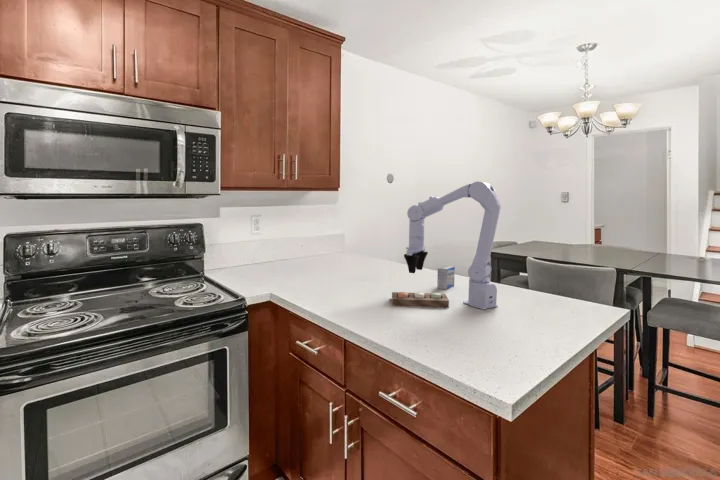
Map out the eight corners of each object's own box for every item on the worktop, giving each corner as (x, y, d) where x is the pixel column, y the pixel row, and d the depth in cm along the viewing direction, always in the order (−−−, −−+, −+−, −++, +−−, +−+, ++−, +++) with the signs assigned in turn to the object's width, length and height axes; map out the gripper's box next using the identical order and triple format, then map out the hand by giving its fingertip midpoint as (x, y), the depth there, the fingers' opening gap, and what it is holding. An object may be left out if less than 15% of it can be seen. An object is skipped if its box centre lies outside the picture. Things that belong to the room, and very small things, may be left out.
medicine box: (446, 289, 165) (447, 269, 164) (436, 288, 167) (437, 268, 166) (454, 286, 171) (455, 266, 170) (444, 284, 174) (445, 265, 173)
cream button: (423, 299, 146) (424, 292, 146) (424, 301, 142) (424, 294, 142) (414, 298, 146) (414, 292, 146) (414, 301, 143) (414, 294, 142)
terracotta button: (407, 298, 146) (407, 292, 146) (407, 301, 143) (408, 294, 143) (397, 298, 147) (397, 291, 146) (397, 301, 143) (398, 294, 143)
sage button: (440, 299, 145) (440, 292, 145) (441, 302, 142) (441, 295, 142) (430, 299, 146) (430, 292, 145) (431, 301, 142) (431, 295, 142)
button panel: (445, 300, 149) (445, 293, 148) (448, 307, 139) (448, 300, 138) (391, 298, 150) (392, 292, 150) (391, 306, 140) (391, 299, 140)
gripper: (413, 234, 160) (413, 267, 162) (399, 237, 148) (398, 273, 149) (430, 235, 157) (429, 268, 158) (417, 239, 144) (416, 275, 146)
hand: (415, 271), depth 154 cm, fingers open, 7 cm apart
